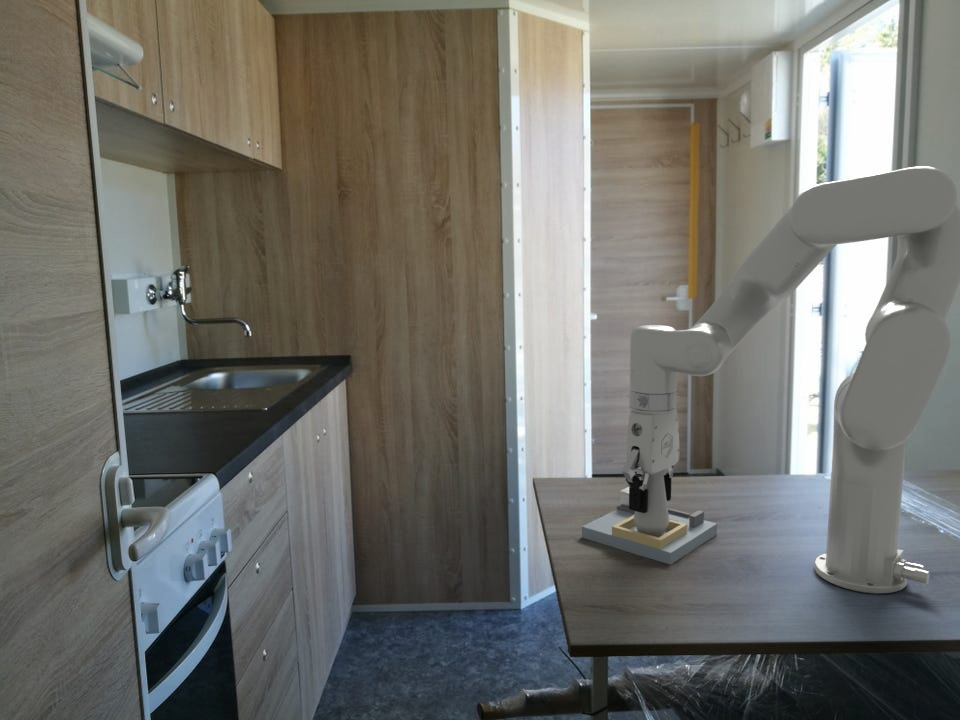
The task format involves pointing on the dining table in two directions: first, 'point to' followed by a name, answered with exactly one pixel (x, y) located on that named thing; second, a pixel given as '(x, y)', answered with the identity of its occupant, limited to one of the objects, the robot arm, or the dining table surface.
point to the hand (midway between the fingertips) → (650, 504)
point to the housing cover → (624, 497)
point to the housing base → (667, 548)
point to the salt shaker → (654, 507)
